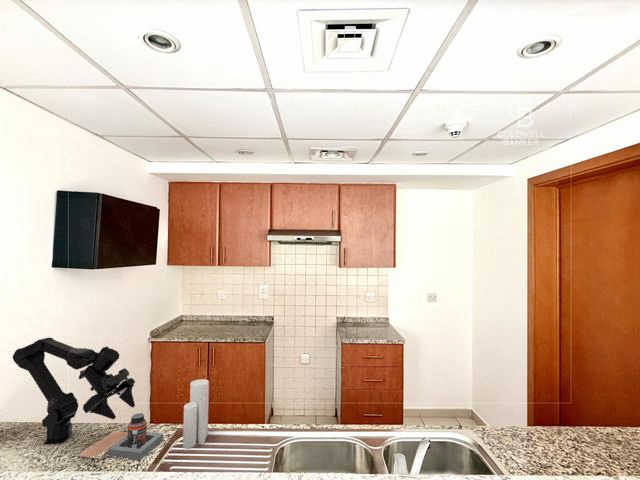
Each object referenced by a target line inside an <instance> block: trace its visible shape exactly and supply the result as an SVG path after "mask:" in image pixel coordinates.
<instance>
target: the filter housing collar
mask: <svg viewBox="0 0 640 480" xmlns="http://www.w3.org/2000/svg"><path fill="white" fill-rule="evenodd" d="M146 438H147V439H146V443H145V444H144V445H143V446H142V447H140V448H139V449H138V448H129V447H126V446H127V436H125V437H124V438H123V439H121V440H120V441H118V442H117V443H116V444H114V445H113V446H111V447H110V448H109V449H108V453H107V456H108V455H109V456H116V457H123V458H122V459H124V458H128V459H127V460H132V459H133V461H141V460H142V459H143V458H144V457H146V456H147V455H148V454H149V453H150V452H151V451H153V450H155V448H156V447H157V446H159V444H161V443H162V442H163V441H164V433H162V432H161V433H160V432H153V431H146ZM116 457H115V458H116Z"/></svg>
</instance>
